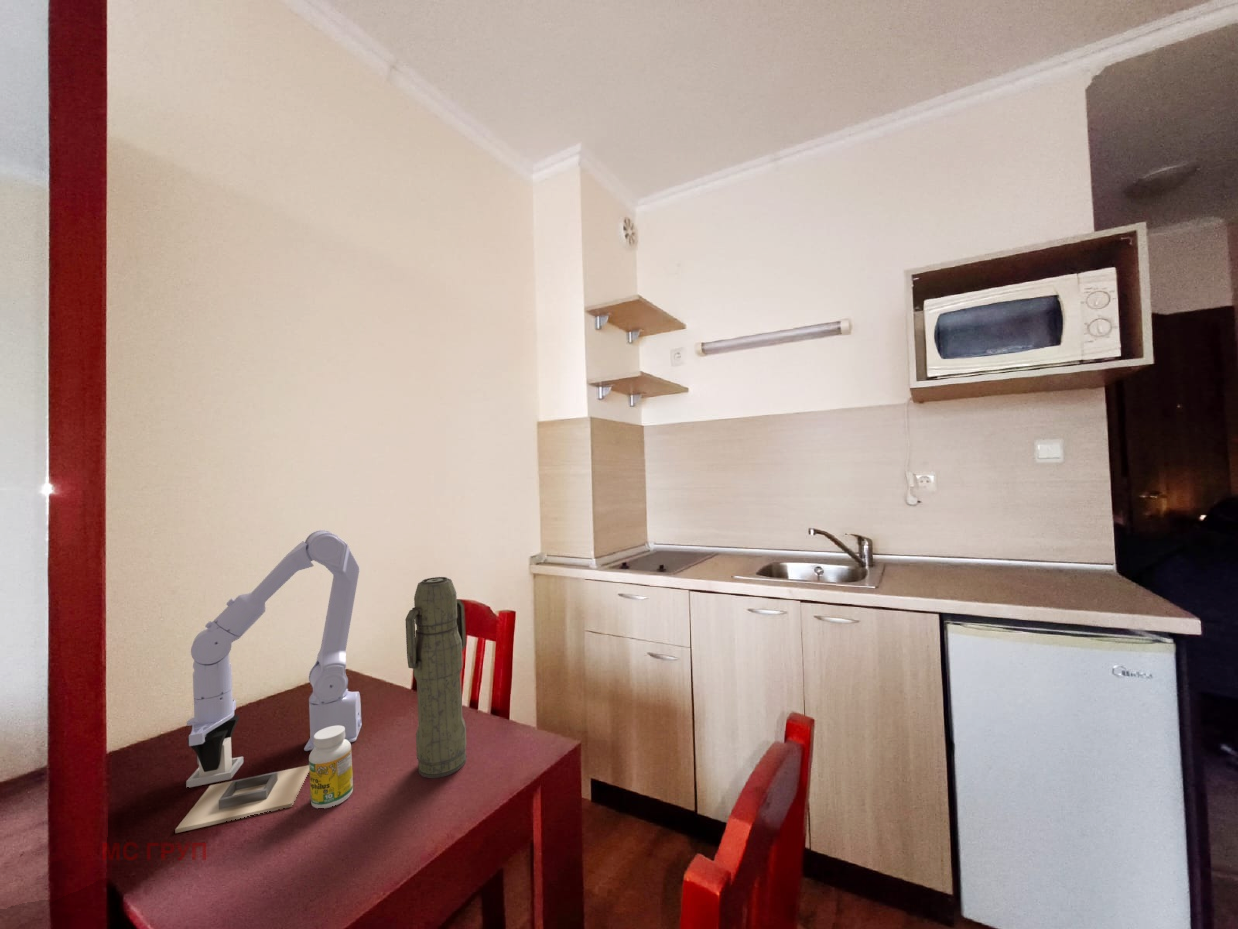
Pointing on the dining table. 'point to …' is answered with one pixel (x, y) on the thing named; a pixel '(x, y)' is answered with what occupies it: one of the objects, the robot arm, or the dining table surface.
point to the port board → (245, 798)
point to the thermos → (438, 675)
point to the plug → (224, 761)
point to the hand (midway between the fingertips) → (215, 764)
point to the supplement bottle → (330, 768)
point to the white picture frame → (214, 775)
